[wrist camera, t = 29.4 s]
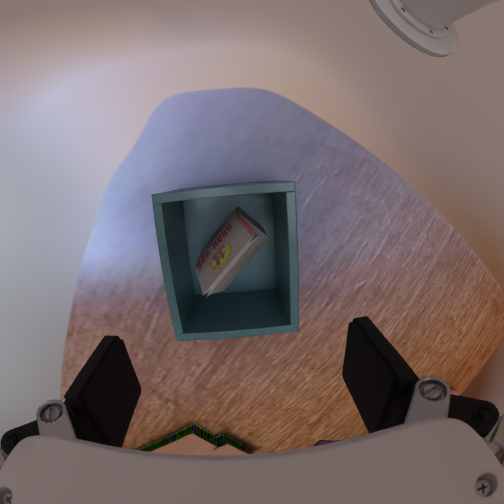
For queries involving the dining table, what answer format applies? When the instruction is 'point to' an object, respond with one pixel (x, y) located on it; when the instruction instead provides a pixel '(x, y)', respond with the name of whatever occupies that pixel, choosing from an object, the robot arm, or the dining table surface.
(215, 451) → the house
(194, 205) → the waste bin
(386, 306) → the dining table surface
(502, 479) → the robot arm
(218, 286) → the tea bag
